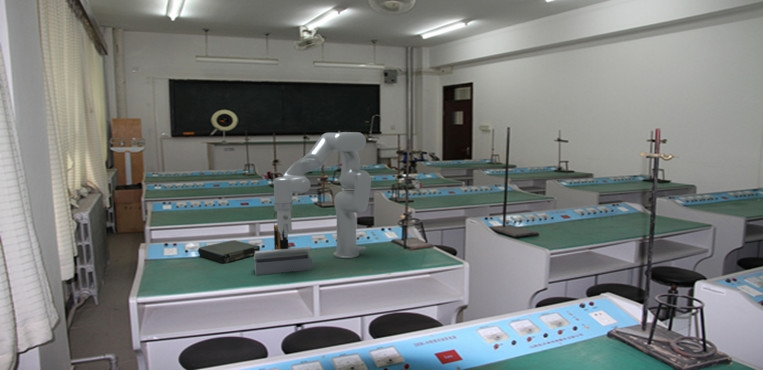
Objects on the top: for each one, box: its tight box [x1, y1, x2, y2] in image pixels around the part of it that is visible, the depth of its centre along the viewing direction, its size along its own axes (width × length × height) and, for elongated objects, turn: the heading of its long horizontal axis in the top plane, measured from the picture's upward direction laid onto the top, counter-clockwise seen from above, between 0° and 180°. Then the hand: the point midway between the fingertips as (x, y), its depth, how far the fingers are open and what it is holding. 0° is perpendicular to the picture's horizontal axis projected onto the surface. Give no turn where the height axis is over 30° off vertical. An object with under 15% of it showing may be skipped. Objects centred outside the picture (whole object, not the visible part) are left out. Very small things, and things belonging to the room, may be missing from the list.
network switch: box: [198, 239, 261, 264], centre depth 233 cm, size 23×23×5 cm
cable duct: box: [253, 254, 313, 276], centre depth 210 cm, size 24×7×5 cm, turn 111°
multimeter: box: [273, 211, 290, 250], centre depth 243 cm, size 15×10×20 cm
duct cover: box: [253, 246, 312, 260], centre depth 211 cm, size 24×9×1 cm
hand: (284, 248), depth 205 cm, fingers closed
